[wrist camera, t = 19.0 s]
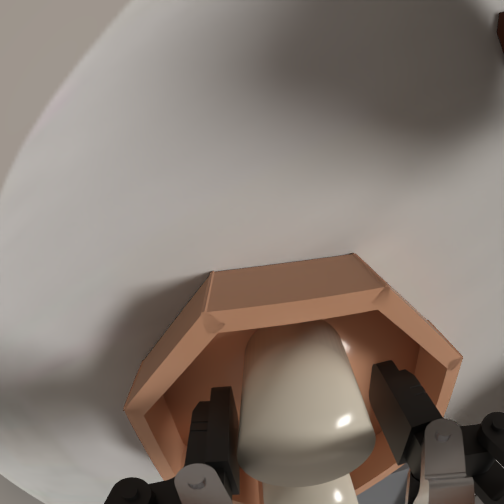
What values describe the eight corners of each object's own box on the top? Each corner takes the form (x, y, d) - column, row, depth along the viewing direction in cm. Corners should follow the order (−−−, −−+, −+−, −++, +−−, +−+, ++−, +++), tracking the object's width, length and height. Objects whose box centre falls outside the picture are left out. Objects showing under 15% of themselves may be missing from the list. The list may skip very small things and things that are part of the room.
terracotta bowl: (436, 241, 13) (481, 266, 10) (400, 442, 18) (416, 478, 14) (116, 282, 13) (84, 320, 10) (190, 474, 18) (186, 514, 14)
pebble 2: (338, 409, 15) (365, 491, 10) (334, 453, 16) (353, 525, 11) (255, 421, 15) (260, 509, 10) (263, 465, 16) (269, 539, 11)
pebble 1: (343, 308, 13) (384, 399, 8) (341, 386, 14) (366, 476, 9) (237, 319, 13) (225, 417, 8) (250, 396, 14) (246, 490, 9)
